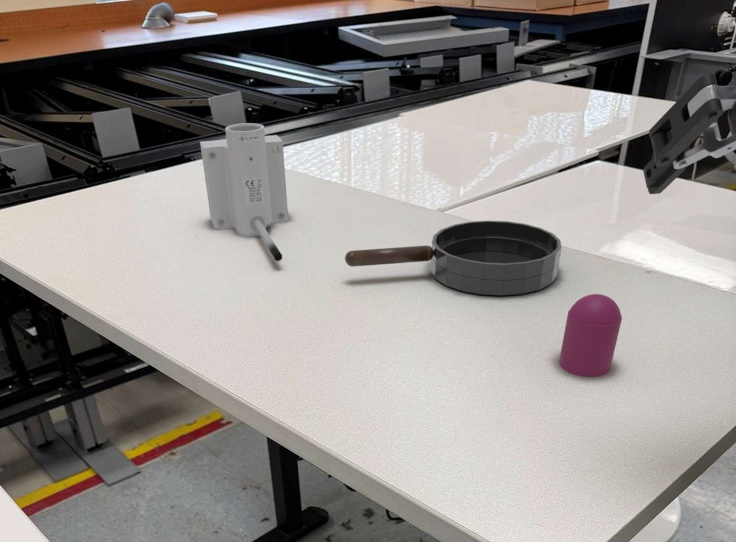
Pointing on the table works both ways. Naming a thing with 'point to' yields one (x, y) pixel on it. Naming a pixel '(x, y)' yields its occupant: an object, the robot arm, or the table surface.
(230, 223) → the electronic device
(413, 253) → the pan handle
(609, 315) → the magenta domed cylinder
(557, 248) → the pan
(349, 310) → the table surface
